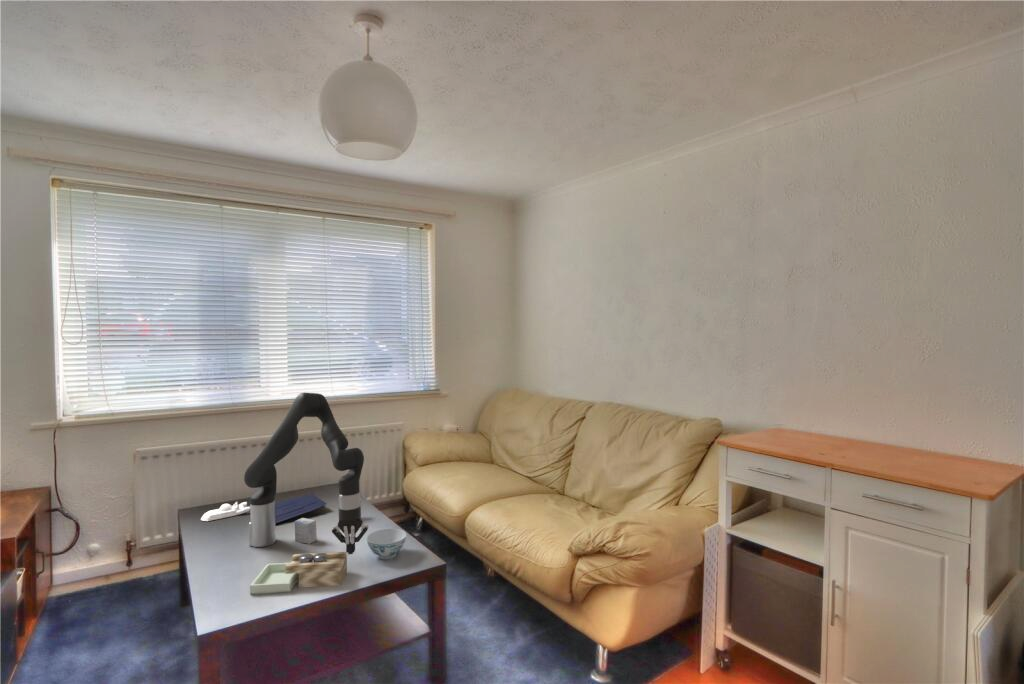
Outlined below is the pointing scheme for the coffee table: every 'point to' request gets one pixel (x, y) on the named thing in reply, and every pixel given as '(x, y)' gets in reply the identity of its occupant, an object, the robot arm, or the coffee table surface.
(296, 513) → the blue flat panel
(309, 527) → the medicine box
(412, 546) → the coffee table surface
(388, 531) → the chinaware
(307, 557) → the puck
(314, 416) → the robot arm
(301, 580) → the slotted board
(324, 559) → the puck
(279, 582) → the tray
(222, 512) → the plane toy
